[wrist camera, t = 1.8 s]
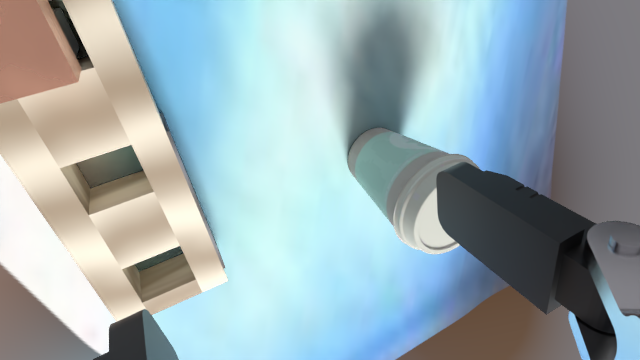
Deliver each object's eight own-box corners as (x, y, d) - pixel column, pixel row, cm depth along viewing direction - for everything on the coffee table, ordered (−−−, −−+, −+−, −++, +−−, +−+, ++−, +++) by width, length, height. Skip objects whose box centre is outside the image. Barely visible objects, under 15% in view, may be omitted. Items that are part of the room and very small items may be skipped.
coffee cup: (418, 156, 43) (506, 211, 34) (358, 206, 43) (429, 277, 33) (389, 95, 38) (482, 141, 29) (319, 152, 38) (391, 217, 28)
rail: (-273, -310, 16) (-368, -376, 13) (-14, -315, 18) (-39, -372, 15) (120, 295, 36) (121, 328, 32) (220, 252, 38) (230, 279, 35)
